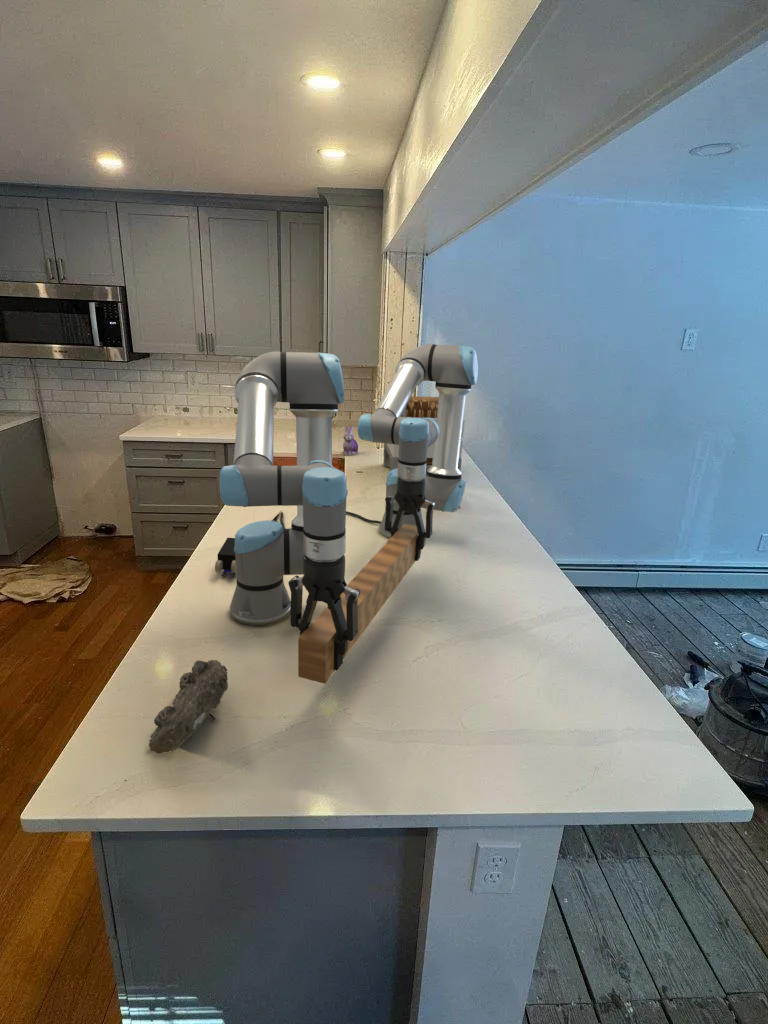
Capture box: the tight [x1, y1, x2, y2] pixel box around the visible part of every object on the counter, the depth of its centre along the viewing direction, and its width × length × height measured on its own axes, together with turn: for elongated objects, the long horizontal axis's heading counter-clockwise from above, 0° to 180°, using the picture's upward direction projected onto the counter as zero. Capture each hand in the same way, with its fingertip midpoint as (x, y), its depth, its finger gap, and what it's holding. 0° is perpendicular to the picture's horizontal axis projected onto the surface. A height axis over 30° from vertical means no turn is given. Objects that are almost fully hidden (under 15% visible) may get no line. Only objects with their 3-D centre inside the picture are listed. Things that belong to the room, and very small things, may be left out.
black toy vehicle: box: [214, 537, 236, 578], centre depth 166 cm, size 7×8×15 cm
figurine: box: [342, 424, 359, 456], centre depth 303 cm, size 9×10×15 cm
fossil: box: [148, 659, 229, 754], centre depth 106 cm, size 22×10×15 cm
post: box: [297, 523, 419, 685], centre depth 133 cm, size 64×6×8 cm, turn 161°
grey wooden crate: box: [383, 395, 465, 473], centre depth 268 cm, size 34×33×41 cm
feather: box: [271, 510, 283, 522], centre depth 212 cm, size 2×28×2 cm
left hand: (323, 662), depth 110 cm, fingers closed on post, 6 cm apart
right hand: (406, 556), depth 158 cm, fingers closed on post, 6 cm apart
